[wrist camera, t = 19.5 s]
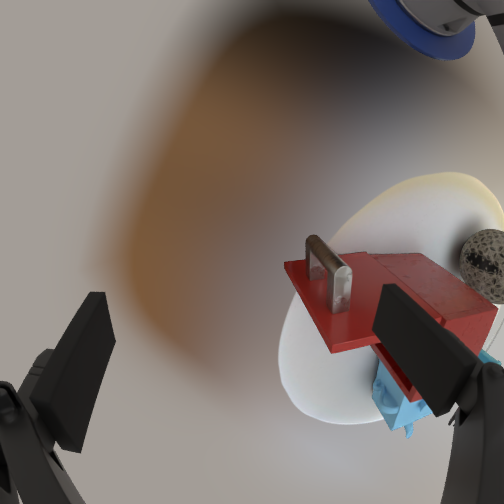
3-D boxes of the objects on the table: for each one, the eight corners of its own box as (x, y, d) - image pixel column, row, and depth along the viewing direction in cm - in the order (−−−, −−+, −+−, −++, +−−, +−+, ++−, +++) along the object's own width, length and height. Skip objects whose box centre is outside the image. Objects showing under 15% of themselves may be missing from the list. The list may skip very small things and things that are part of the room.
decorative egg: (459, 213, 42) (525, 244, 28) (493, 226, 44) (550, 255, 30) (437, 277, 46) (494, 321, 32) (473, 282, 48) (524, 319, 34)
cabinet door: (282, 225, 38) (336, 293, 22) (367, 217, 39) (452, 271, 23) (284, 268, 40) (331, 354, 24) (365, 258, 42) (439, 325, 25)
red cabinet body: (354, 324, 46) (409, 403, 29) (369, 254, 42) (446, 320, 25) (404, 317, 47) (463, 383, 31) (421, 253, 43) (498, 308, 26)
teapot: (364, 351, 49) (397, 402, 37) (432, 328, 50) (471, 368, 38) (354, 412, 55) (376, 458, 44) (414, 390, 57) (441, 428, 45)
